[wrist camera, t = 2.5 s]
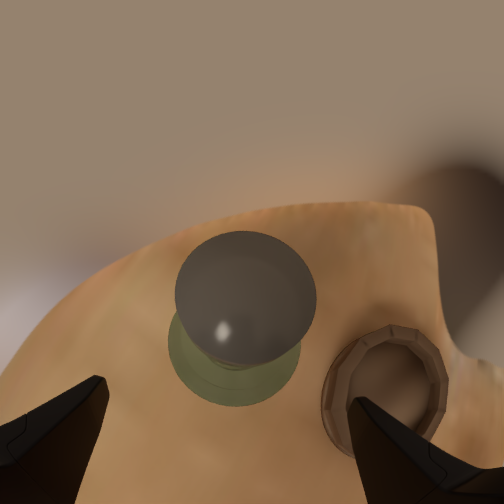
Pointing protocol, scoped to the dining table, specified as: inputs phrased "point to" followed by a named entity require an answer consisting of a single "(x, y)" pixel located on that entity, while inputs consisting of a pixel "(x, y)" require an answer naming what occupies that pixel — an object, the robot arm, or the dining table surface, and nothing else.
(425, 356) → the tray
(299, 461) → the dining table surface
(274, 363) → the bottle
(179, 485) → the dining table surface
